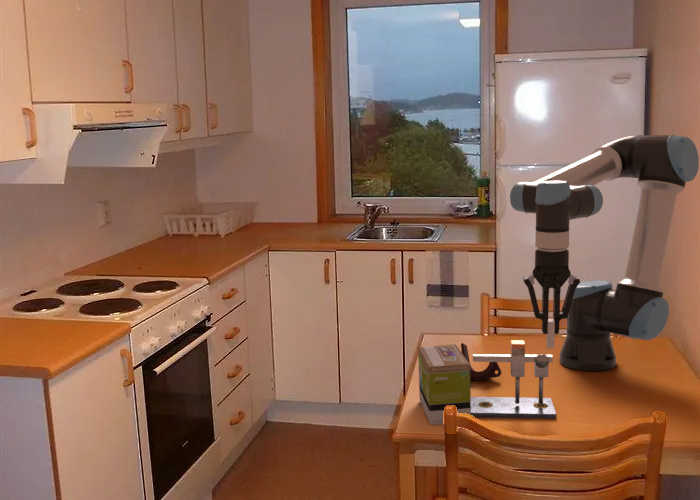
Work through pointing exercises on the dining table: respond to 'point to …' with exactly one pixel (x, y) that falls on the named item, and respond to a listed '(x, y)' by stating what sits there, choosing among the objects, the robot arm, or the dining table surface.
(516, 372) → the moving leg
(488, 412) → the board
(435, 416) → the tea box
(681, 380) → the dining table surface
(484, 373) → the bracket
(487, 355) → the beam
